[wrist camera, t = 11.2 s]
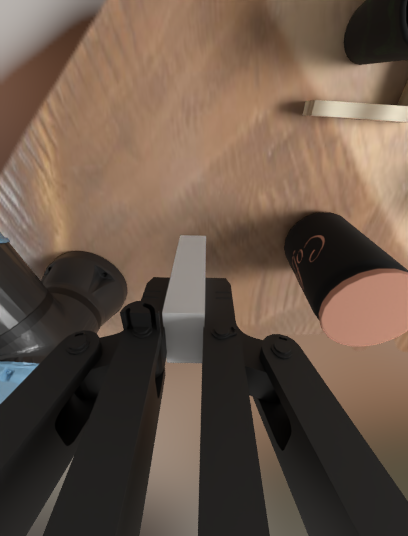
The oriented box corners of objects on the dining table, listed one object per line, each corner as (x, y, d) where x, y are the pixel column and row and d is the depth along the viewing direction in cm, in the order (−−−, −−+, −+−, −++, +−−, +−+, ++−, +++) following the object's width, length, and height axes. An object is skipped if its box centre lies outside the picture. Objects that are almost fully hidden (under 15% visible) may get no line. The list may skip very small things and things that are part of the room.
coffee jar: (294, 205, 38) (346, 265, 23) (359, 214, 38) (455, 279, 23) (274, 262, 43) (306, 341, 28) (332, 269, 44) (393, 352, 29)
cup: (398, 67, 28) (498, 43, 18) (330, 82, 29) (390, 67, 19) (418, -29, 24) (559, -128, 14) (338, -8, 25) (418, -86, 15)
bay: (302, 115, 31) (314, 115, 27) (345, -68, 23) (372, -106, 19) (408, 122, 31) (435, 123, 27) (488, -59, 23) (544, -95, 19)
